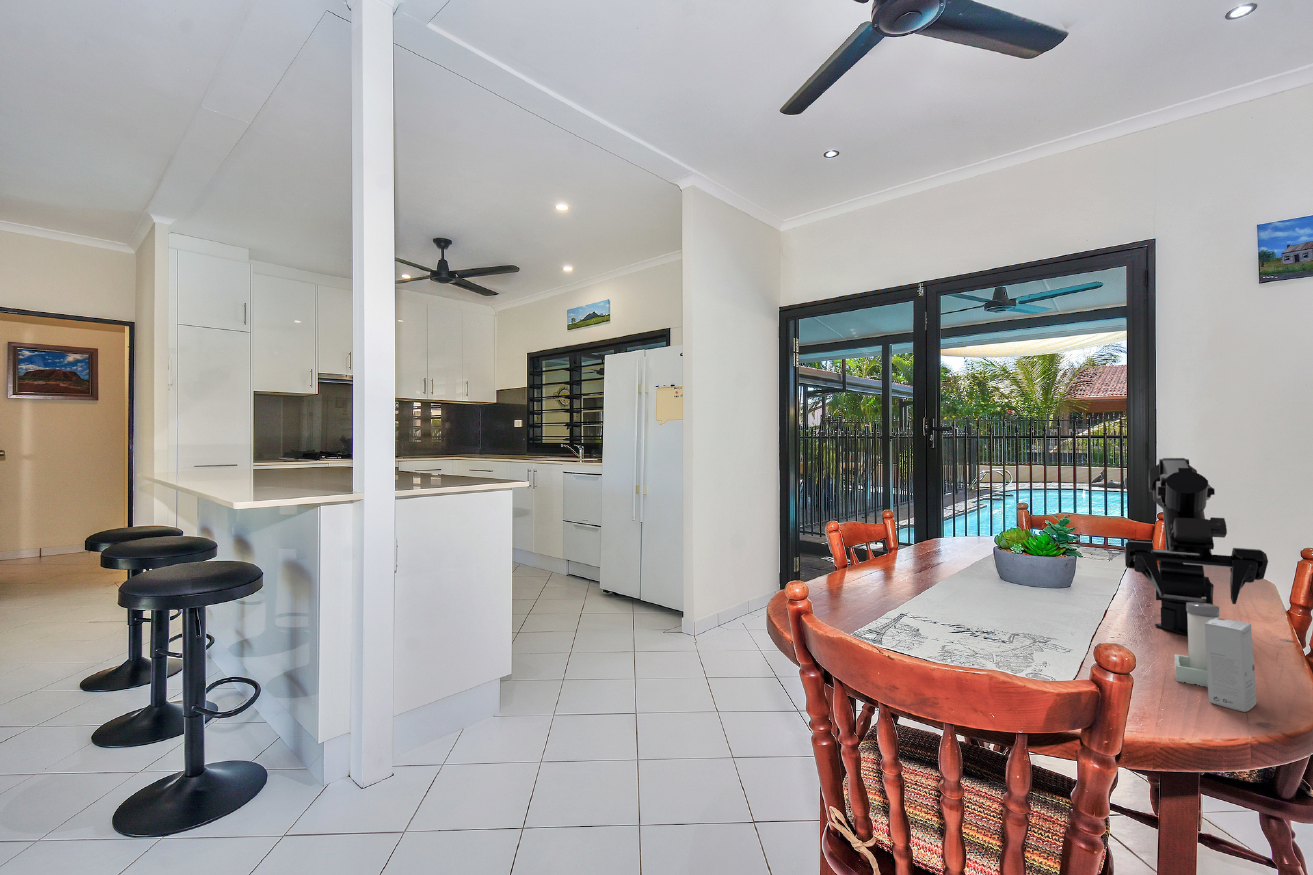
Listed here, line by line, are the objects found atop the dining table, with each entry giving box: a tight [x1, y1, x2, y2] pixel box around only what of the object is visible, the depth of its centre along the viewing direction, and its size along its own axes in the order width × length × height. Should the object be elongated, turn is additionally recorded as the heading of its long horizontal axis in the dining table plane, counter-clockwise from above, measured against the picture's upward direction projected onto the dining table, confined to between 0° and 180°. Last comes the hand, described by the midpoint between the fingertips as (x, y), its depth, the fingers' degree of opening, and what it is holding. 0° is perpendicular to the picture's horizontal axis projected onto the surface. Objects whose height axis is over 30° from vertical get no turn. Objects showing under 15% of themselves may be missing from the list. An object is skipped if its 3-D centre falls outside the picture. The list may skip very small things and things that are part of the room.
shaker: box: [1186, 602, 1220, 671], centre depth 95 cm, size 4×4×12 cm
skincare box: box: [1205, 617, 1257, 713], centre depth 86 cm, size 6×4×12 cm
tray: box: [1174, 653, 1208, 688], centre depth 95 cm, size 7×7×2 cm
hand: (1197, 598), depth 99 cm, fingers open, 9 cm apart
